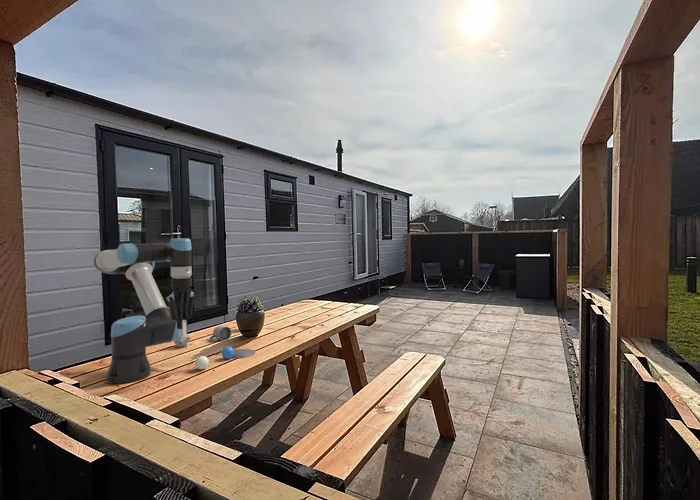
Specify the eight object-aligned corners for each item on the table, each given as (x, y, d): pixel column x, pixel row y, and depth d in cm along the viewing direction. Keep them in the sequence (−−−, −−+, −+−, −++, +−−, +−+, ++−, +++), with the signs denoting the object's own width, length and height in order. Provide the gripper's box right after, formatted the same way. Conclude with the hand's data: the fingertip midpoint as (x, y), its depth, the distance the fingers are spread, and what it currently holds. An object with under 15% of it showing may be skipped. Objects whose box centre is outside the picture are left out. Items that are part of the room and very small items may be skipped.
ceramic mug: (224, 336, 204) (224, 323, 203) (232, 339, 198) (231, 325, 198) (206, 340, 196) (206, 327, 195) (213, 343, 190) (213, 329, 190)
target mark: (227, 360, 163) (227, 359, 163) (222, 351, 175) (222, 351, 175) (258, 355, 169) (258, 355, 169) (251, 347, 182) (251, 347, 182)
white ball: (195, 372, 148) (195, 359, 148) (194, 368, 153) (194, 355, 153) (209, 370, 150) (209, 357, 150) (208, 366, 155) (208, 353, 155)
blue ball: (222, 361, 161) (222, 349, 161) (220, 357, 166) (220, 346, 166) (235, 359, 164) (234, 347, 164) (233, 356, 169) (233, 344, 169)
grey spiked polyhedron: (182, 355, 182) (181, 342, 177) (169, 348, 184) (166, 335, 178) (195, 342, 190) (193, 330, 184) (181, 336, 191) (179, 323, 185)
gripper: (173, 279, 134) (174, 341, 135) (201, 276, 146) (202, 333, 147) (160, 278, 138) (161, 339, 138) (188, 275, 149) (189, 331, 150)
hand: (182, 336), depth 143 cm, fingers closed
